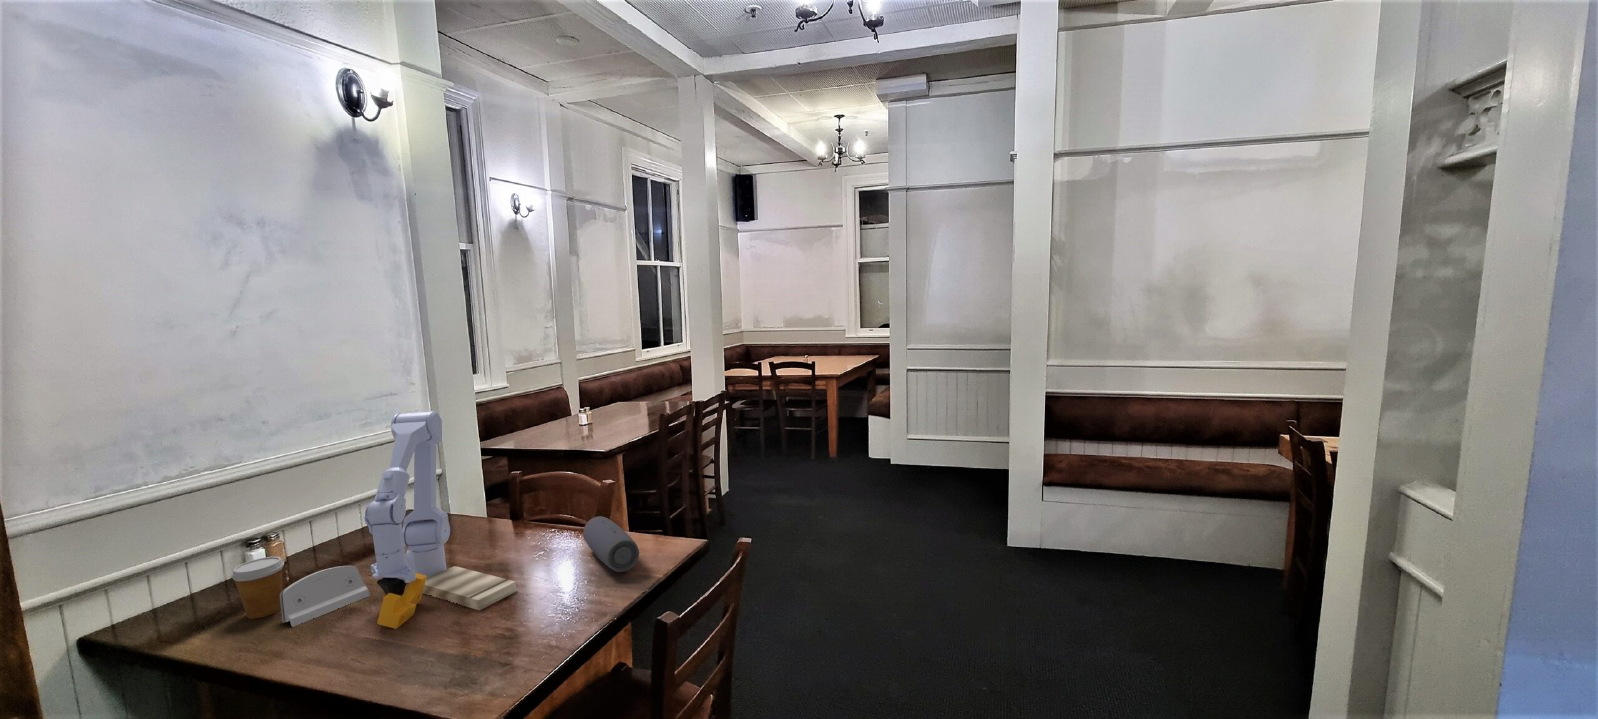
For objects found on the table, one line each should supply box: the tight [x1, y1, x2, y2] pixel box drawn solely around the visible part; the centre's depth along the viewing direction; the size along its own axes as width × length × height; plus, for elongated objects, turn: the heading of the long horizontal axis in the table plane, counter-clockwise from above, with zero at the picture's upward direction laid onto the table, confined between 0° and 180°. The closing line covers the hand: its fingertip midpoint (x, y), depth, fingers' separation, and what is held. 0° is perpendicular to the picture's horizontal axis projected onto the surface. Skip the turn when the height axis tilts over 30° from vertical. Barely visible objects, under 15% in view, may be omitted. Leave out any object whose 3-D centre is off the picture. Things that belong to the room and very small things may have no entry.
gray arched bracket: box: [280, 565, 371, 628], centre depth 148 cm, size 17×5×10 cm, turn 150°
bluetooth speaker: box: [582, 515, 640, 573], centre depth 166 cm, size 23×9×10 cm, turn 34°
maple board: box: [422, 565, 517, 611], centre depth 153 cm, size 24×10×3 cm, turn 63°
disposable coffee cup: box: [230, 556, 285, 620], centre depth 147 cm, size 10×10×12 cm
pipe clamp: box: [376, 573, 427, 630], centre depth 142 cm, size 12×4×6 cm, turn 1°
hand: (397, 605), depth 144 cm, fingers closed, pressing on pipe clamp
